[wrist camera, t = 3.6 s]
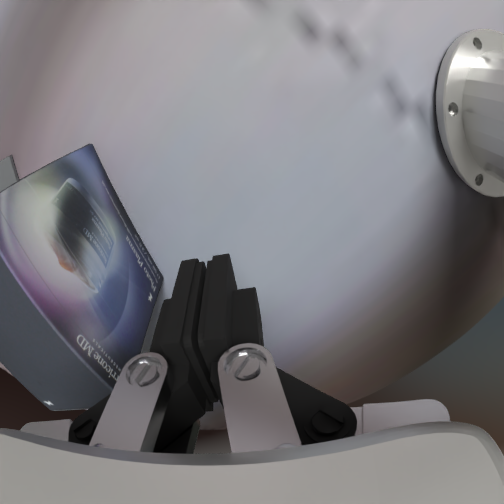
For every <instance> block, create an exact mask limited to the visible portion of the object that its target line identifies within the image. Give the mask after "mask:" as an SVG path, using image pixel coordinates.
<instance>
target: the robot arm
mask: <svg viewBox="0 0 504 504" xmlns="http://www.w3.org/2000/svg"><path fill="white" fill-rule="evenodd" d="M436 114H437V121H438V129H439V133H440V137H441V141H442V145H443V148H444V150H445V153H446V155H447V158H448V160H449V162H450V164H451V165H452V167H453V169H454V170H455V172H456V174H457V175H458V176H459V177H460V178H461V179H462V180H463V181H464V183H466V184H467V185H468V186H470V187H471V188H473V189H474V190H476V191H478V192H479V193H481V194H483V195H485V196H490V197H504V34H503V33H501V32H499V31H495V30H491V29H476V30H472V31H468V32H466V33H464V34H462V35H461V36H459V37H458V38H457V39H456V40H455V41H454V42H453V43H452V44H451V46H450V47H449V48H448V50H447V52H446V54H445V56H444V58H443V60H442V64H441V67H440V71H439V74H438V81H437V89H436ZM218 400H220V402H221V404H222V406H223V409H224V412H225V418H226V424H227V429H228V435H229V440H230V446H231V451H232V453H219V454H193V453H194V449H195V445H196V441H197V436H198V432H199V428H200V420H199V418H201V417H202V416H203V415H204V414H205V411H213V402H218ZM0 504H504V456H503V454H502V452H501V451H500V449H499V447H498V446H497V444H496V443H495V441H494V440H493V439H492V438H491V436H490V435H489V434H488V433H487V432H485V431H484V430H483V429H481V428H479V427H478V426H475V425H472V424H468V423H461V422H450V417H449V413H448V410H447V408H446V407H445V406H444V405H443V404H442V403H441V402H438V401H436V400H434V399H422V400H413V401H402V402H391V403H373V404H363V407H349V406H347V405H346V404H344V403H343V402H341V401H339V400H337V399H335V398H333V397H331V396H329V395H327V394H325V393H323V392H321V391H319V390H317V389H315V388H313V387H311V386H310V385H308V384H306V383H304V382H302V381H300V380H298V379H297V378H295V377H293V376H291V375H289V374H287V373H286V372H284V371H282V370H280V369H278V368H277V367H275V364H274V361H273V357H272V355H271V354H270V352H269V351H268V350H267V349H266V348H265V347H264V343H263V332H262V323H261V315H260V309H259V303H258V298H257V292H256V288H255V287H253V288H246V289H239V290H237V285H236V281H235V277H234V272H233V268H232V263H231V259H230V255H229V254H223V255H216V256H213V259H212V260H211V261H208V262H207V269H206V266H205V263H204V262H199V260H198V259H190V260H184V261H182V262H181V265H180V268H179V272H178V275H177V279H176V283H175V286H174V290H173V294H172V298H171V299H165V300H164V302H163V304H162V308H161V312H160V315H159V319H158V322H157V326H156V330H155V333H154V337H153V341H152V345H151V348H150V352H147V353H142V354H139V355H137V356H135V357H133V358H131V359H130V360H129V361H128V362H127V363H126V364H125V366H124V367H123V369H122V371H121V373H120V376H119V378H118V380H117V382H116V384H115V386H114V389H113V391H112V393H110V394H109V395H108V396H106V397H105V398H104V399H102V400H101V401H99V402H98V403H96V404H95V405H94V406H92V407H91V408H89V409H88V410H87V411H85V412H84V413H82V414H81V415H79V416H78V417H77V418H76V419H75V420H74V421H73V422H72V421H71V420H70V419H67V420H58V421H47V422H33V423H28V424H26V425H25V426H23V427H22V429H21V430H20V431H17V430H12V429H4V428H2V429H1V428H0Z"/></svg>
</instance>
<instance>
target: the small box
mask: <svg viewBox="0 0 504 504" xmlns="http://www.w3.org/2000/svg"><path fill="white" fill-rule="evenodd" d="M162 281H163V276H162V275H161V273H160V271H159V270H158V268H157V266H156V265H155V263H154V261H153V259H152V258H151V256H150V254H149V253H148V251H147V249H146V247H145V246H144V244H143V242H142V240H141V239H140V237H139V235H138V233H137V232H136V230H135V228H134V226H133V224H132V222H131V220H130V219H129V217H128V215H127V213H126V211H125V209H124V208H123V206H122V204H121V202H120V200H119V198H118V196H117V194H116V192H115V190H114V188H113V186H112V184H111V182H110V180H109V178H108V176H107V174H106V172H105V170H104V168H103V166H102V164H101V162H100V160H99V158H98V155H97V153H96V151H95V149H94V147H93V145H92V144H88V145H86V146H84V147H82V148H80V149H78V150H76V151H74V152H72V153H69V154H67V155H65V156H63V157H61V158H59V159H57V160H55V161H53V162H51V163H49V164H47V165H46V166H44V167H42V168H40V169H38V170H37V171H35V172H33V173H31V174H29V175H27V176H26V177H24V178H22V179H20V180H19V181H17V182H15V183H13V184H12V185H10V186H9V187H7V188H6V189H4V190H2V191H1V192H0V362H1V363H2V364H3V365H4V366H5V367H6V368H7V369H8V370H9V371H10V372H11V374H12V375H13V376H14V377H15V378H16V379H18V381H19V382H20V383H22V384H23V385H24V386H25V387H26V388H27V389H28V390H29V391H30V392H31V393H32V394H33V395H34V396H35V397H36V398H38V399H39V400H40V401H41V402H42V403H43V404H44V405H45V406H47V407H48V408H49V409H50V410H53V411H56V410H77V409H89V408H91V407H92V406H94V405H95V404H96V403H98V402H99V401H101V400H102V399H104V398H105V397H106V396H108V395H109V394H110V393H112V391H113V389H114V386H115V384H116V382H117V380H118V378H119V376H120V373H121V371H122V369H123V367H124V366H125V364H126V363H127V362H128V361H129V360H130V359H131V358H133V357H135V356H137V355H139V354H140V352H141V348H142V345H143V341H144V337H145V334H146V331H147V327H148V324H149V321H150V318H151V314H152V311H153V308H154V305H155V302H156V299H157V296H158V292H159V289H160V286H161V283H162Z"/></svg>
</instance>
